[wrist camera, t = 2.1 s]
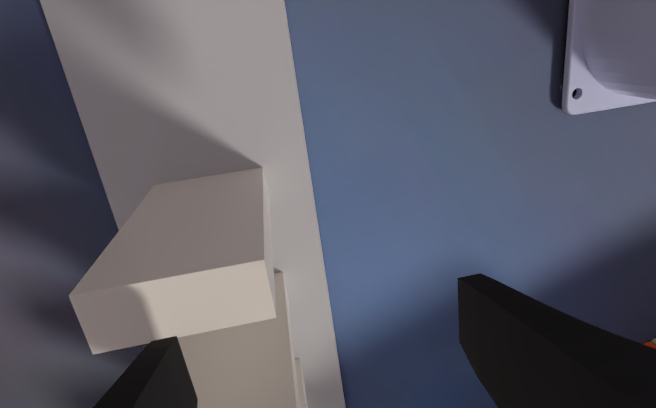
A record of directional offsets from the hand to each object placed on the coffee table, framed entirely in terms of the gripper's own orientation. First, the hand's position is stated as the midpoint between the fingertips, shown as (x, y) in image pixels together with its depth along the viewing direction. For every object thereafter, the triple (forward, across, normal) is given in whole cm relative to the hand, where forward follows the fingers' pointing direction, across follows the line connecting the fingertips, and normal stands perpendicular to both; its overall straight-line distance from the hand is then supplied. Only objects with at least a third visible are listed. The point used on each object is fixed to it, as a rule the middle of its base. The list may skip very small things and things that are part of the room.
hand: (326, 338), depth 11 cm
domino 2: (+10, +4, +4) cm, 11 cm away
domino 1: (+10, +4, -1) cm, 11 cm away
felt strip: (+10, +4, +6) cm, 12 cm away
